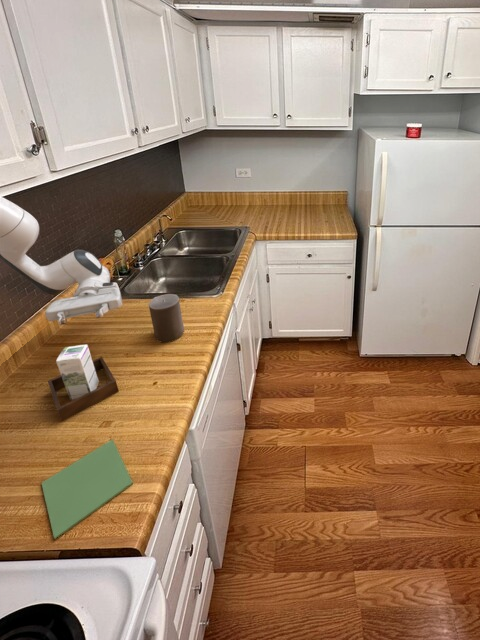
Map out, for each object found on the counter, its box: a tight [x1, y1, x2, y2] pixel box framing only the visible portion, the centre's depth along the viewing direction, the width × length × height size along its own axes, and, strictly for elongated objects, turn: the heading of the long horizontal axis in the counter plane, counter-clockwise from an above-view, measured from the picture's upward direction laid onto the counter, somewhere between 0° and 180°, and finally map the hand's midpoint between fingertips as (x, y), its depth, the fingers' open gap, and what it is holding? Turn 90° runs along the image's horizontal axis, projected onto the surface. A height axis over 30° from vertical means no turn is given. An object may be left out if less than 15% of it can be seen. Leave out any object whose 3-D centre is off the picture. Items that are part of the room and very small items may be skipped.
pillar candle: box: [148, 293, 185, 343], centre depth 116 cm, size 10×10×15 cm
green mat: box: [40, 439, 134, 540], centre depth 72 cm, size 14×14×1 cm
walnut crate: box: [47, 356, 119, 422], centre depth 94 cm, size 14×14×4 cm
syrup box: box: [55, 343, 100, 401], centre depth 92 cm, size 6×6×14 cm
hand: (80, 319), depth 99 cm, fingers open, 8 cm apart
